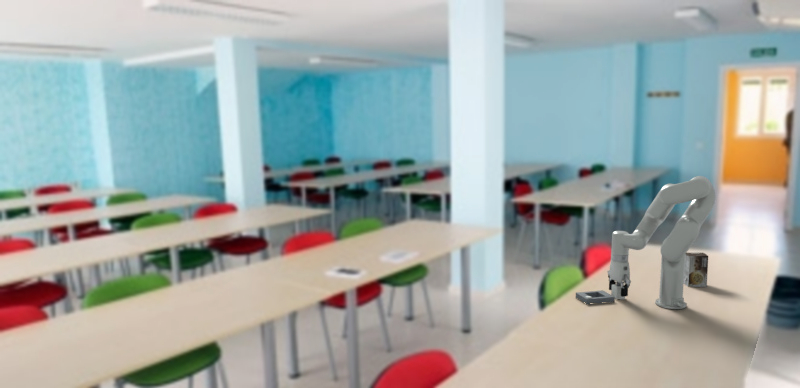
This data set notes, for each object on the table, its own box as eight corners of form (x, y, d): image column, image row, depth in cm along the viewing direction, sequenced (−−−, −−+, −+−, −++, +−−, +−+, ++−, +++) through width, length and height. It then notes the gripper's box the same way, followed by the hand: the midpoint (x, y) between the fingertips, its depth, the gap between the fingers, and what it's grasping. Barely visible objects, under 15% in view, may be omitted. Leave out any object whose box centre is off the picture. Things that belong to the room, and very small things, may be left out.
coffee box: (701, 283, 288) (703, 252, 285) (707, 287, 281) (709, 255, 279) (682, 283, 289) (684, 252, 286) (687, 286, 282) (689, 255, 280)
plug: (624, 299, 265) (625, 282, 264) (616, 299, 265) (617, 283, 263) (619, 296, 270) (620, 279, 269) (611, 296, 269) (611, 280, 268)
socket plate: (614, 302, 261) (614, 295, 261) (586, 304, 259) (586, 298, 258) (602, 295, 271) (602, 289, 271) (575, 297, 268) (575, 291, 268)
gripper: (638, 261, 257) (636, 298, 259) (616, 252, 274) (614, 287, 276) (623, 262, 255) (621, 299, 258) (602, 253, 272) (600, 288, 275)
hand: (618, 293), depth 267 cm, fingers open, 9 cm apart
